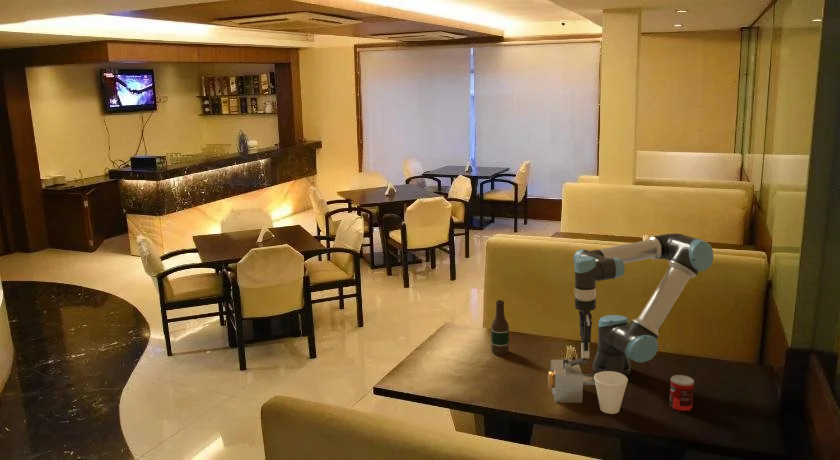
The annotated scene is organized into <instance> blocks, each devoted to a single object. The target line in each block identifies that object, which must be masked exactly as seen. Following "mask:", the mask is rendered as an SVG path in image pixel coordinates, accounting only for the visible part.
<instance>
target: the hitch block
mask: <svg viewBox="0 0 840 460" xmlns="http://www.w3.org/2000/svg"><path fill="white" fill-rule="evenodd" d="M572 360H573V359H569V358H567V357H566V358H562V359H551V360H550V371H553V373H554V388H550V389H551V392H552V396H553V399H554V402H555V403H572V404H573V403H577V404H578V403H579V404H581V403H582V404H583V398H584V397H583V394H584V393H583V391H584V385H583V374H584V373H583V371H582V369H581V367H580V364H578V365H574V366H571V365H570V364H564V362H565V361H567V362H568V361H572Z"/></svg>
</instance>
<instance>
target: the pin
mask: <svg viewBox="0 0 840 460" xmlns="http://www.w3.org/2000/svg"><path fill="white" fill-rule="evenodd" d="M582 374H583V386H596V384H595V379H594V376H595V374H596V373H588V374H587V373H582ZM547 385H548V388H549V389H551V388H554V373H553V371H551V370H548V372H547Z"/></svg>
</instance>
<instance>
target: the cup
mask: <svg viewBox="0 0 840 460" xmlns="http://www.w3.org/2000/svg"><path fill="white" fill-rule="evenodd" d="M594 374H595V376H594V379H595V384H596V385H595V388H596V393H597V400H598V404H599V405H598V406H599V409H600V411H601V412H603V413H605V414H607V415H608V414H610V415H615V414H617V413H619V412H620V409H621V406H622V402H623V400H624V399H623V398H624V396H625V395H624V394H625V391H626V389H627V385H628V382H629V379H628V377H627V376H625V375H623V374H621V373H618V372H613V371H602V372H599V373H596V372H595V373H594Z"/></svg>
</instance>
